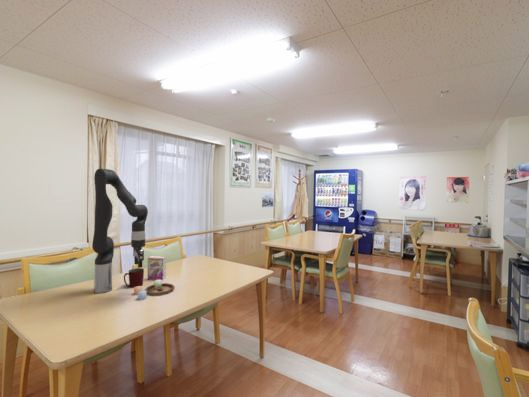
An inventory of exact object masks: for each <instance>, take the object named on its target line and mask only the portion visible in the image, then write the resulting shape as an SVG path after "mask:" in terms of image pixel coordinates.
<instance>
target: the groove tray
mask: <svg viewBox="0 0 529 397" xmlns="http://www.w3.org/2000/svg"><path fill="white" fill-rule="evenodd" d="M144 290H145V291H146V296H152V297H155V296H156V297H157V296H164V295H168V294H170V293H172V292H174V291H175V285H174V284H173V283H167V282H164V283H163V282H162V287H159V288H158V290H155V289H154V284H151V285H149V286H147V287H145V289H144Z"/></svg>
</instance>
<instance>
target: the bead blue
mask: <svg viewBox="0 0 529 397" xmlns="http://www.w3.org/2000/svg"><path fill="white" fill-rule="evenodd" d="M146 299H147V294H146V291H145V289H144V290H143V289H142V291H139V292H138V295H137V300H139V301H144V300H146Z"/></svg>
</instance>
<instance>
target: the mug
mask: <svg viewBox="0 0 529 397" xmlns="http://www.w3.org/2000/svg"><path fill="white" fill-rule="evenodd" d="M144 272H145V269H144V268H143V267H140V268H139V267H137V268H131V269H129V270H128V272H126V273H124V275H123V281H124V282H123V283H124V284H125V285H126V287H128V288H132V289H134V287H136V286H142V287H143V284H144V275H145V274H144ZM127 275H128V282H129V284H127V281H126V276H127Z"/></svg>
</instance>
